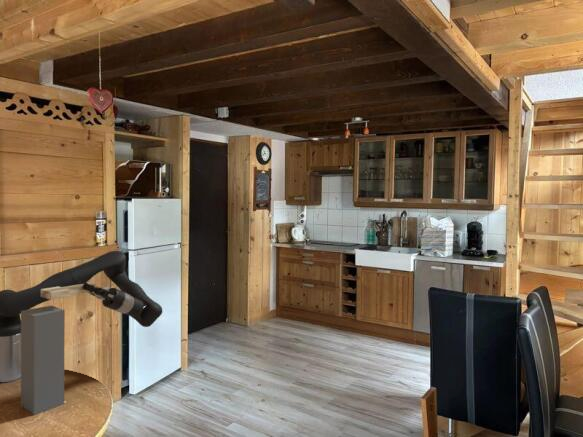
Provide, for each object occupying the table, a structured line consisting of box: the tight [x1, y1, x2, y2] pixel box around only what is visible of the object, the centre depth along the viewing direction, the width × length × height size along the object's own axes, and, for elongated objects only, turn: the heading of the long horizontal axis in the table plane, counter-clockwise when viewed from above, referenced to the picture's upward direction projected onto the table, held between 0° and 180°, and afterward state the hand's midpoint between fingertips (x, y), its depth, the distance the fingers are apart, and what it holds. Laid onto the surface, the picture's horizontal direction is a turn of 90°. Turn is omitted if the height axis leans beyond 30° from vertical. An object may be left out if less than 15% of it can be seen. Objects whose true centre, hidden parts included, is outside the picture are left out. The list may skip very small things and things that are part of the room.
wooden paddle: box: [41, 282, 96, 301], centre depth 150 cm, size 7×16×2 cm, turn 145°
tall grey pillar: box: [20, 305, 66, 416], centre depth 144 cm, size 9×10×32 cm
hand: (81, 284), depth 153 cm, fingers closed on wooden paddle, 3 cm apart
